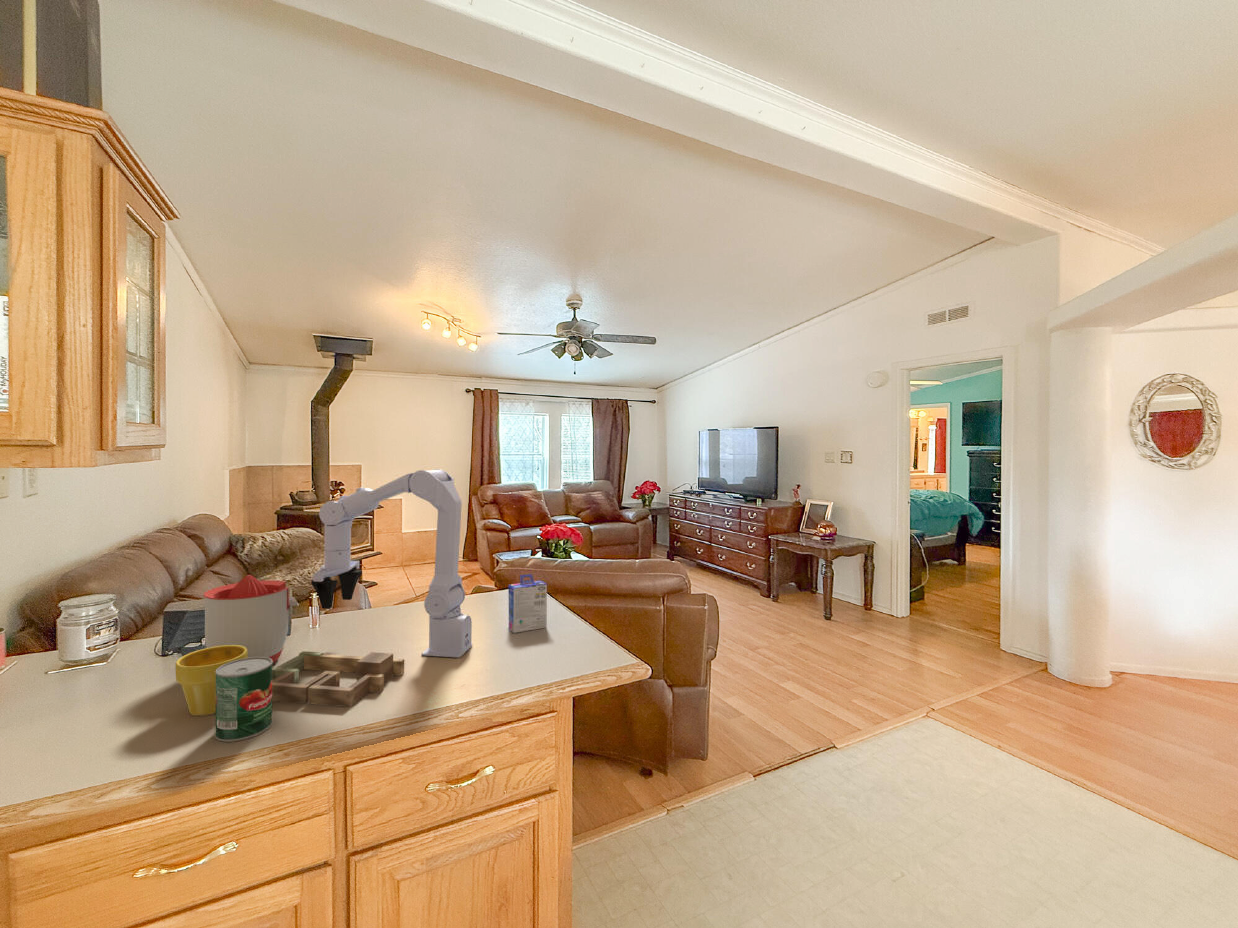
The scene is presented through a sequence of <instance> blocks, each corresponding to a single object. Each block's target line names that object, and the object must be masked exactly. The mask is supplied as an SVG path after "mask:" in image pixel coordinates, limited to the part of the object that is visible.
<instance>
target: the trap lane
mask: <svg viewBox="0 0 1238 928" xmlns="http://www.w3.org/2000/svg"><path fill="white" fill-rule="evenodd" d="M363 657H364V656H360V655H359V656H357V655H342V654H341V655H340V654H338V655H337V654H327V653H326V654H325V653H324V652H321V651H320V652H319V651H304V650H303V651H301V652H299V653H298V655H296V656H294V657H293V658H291V659H289V660H287V661H286V662H283V663H281V664H279V665H277V666H276V667H274V668H272V671H273V672H272V702H280V703H292V704H293V703H294V704H309V705H323V706H334V707H335V706H336V707H348V708H349V707H352V706H353V705H354V704H355V703H356V702H358V701H359V700H360V699H362V698H363V697H364V696H366V695H367V694H368V693H370V692H371V693H374V692H375V693H381V692H382V691H384V690H385V687H384V686H385V683H384V675H381V674H366V675H365V676H363V677H362V678H361V679H359V680H358V681H357V680H356V681H355V682H354V683H352V684H351V685H350V686H348V687H347V686H346V687H344V686H341V684H340V682H341V680H340V679H341V672H345V673H357V661H358V660H360V659H362V658H363ZM304 670H311V671H312V670H314V671H323V672H322V673H320V674H318V675H317V676H315V677H314V678H311V679H310V680H309V681H307V682H305V683H304V684H303V683H300V677H299V676H300V672H301V671H304ZM404 674H405V659H403V658H402V659H401V658H393V676H402V675H404Z"/></svg>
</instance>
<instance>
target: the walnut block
mask: <svg viewBox="0 0 1238 928" xmlns="http://www.w3.org/2000/svg"><path fill="white" fill-rule="evenodd" d="M362 657H363V658H362V659H360V660H358V661H357V672H356V681H358V680H359V679H361V678H362V677H363V676H365V675H366V674H381V675H384V684H386V682H387V683H388V681H389V680H390V679H392V678H393V677H394V675H393V659H394V653H393V652H391V653H389V652H374V651H371V652H369V653H368V654H366V655H365V656H362Z"/></svg>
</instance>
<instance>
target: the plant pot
mask: <svg viewBox="0 0 1238 928" xmlns="http://www.w3.org/2000/svg"><path fill="white" fill-rule="evenodd" d="M244 658H248V651H247V648H246V647H244V646H240V645H223V646H215V647H210V648H207V647H205V648H203V649H202V648H201V649H198V650H195V651H194V650H193V651H192V652H189V653H188V654H185V655H182V656H181V657H179V658H178V659H177V660H176V662H175V667H174V669H175V681H176V682H177V683H178V684H180V685H181V688H182V690H183V695H184V698H185V701H186V704H187V707H188V711H189V713H190V715H192V716H195V717H199V716H200V717H201V716H209V715H214V714H216V712H215V710H216V707H215V705H216V702H215V700H216V697H215V696H216V692H215V691H216V674H215V671H216V669H218V668H219V667H220V666H222V665H224V664H226V663H229V662H232V661H235V660H239V659H244Z"/></svg>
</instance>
